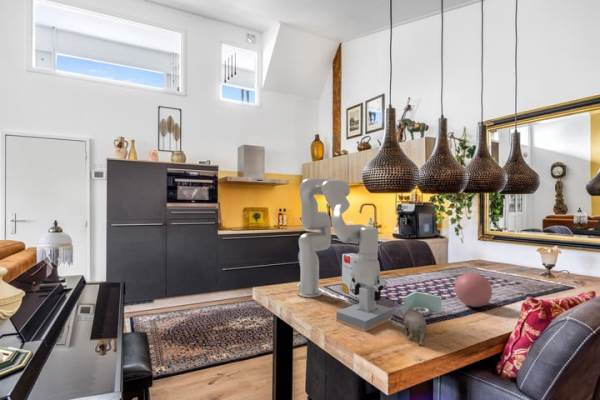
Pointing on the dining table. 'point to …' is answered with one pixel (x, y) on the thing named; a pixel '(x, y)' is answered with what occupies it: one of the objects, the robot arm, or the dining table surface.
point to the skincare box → (367, 299)
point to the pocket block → (363, 317)
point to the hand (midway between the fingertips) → (367, 297)
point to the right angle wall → (423, 302)
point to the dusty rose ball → (473, 289)
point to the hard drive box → (347, 269)
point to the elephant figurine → (414, 324)
